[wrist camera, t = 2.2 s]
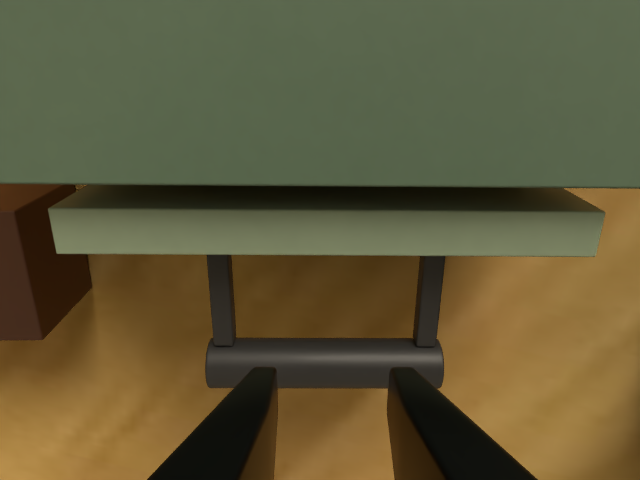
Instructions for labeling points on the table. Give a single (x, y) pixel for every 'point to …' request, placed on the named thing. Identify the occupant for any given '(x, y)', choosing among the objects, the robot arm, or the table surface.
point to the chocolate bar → (35, 263)
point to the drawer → (325, 239)
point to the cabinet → (321, 93)
